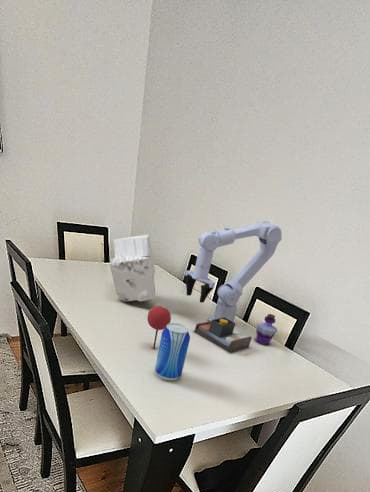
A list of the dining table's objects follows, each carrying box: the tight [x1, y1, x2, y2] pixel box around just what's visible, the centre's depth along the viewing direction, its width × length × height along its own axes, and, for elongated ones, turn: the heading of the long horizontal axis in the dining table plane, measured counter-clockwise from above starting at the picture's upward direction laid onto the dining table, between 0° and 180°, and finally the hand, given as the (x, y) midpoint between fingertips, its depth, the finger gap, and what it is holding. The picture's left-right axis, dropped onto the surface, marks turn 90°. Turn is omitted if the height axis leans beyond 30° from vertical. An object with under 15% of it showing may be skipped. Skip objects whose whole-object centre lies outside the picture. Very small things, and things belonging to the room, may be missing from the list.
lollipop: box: [146, 305, 172, 350], centre depth 129 cm, size 8×8×15 cm
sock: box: [219, 319, 228, 325], centre depth 148 cm, size 3×3×5 cm
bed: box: [194, 320, 252, 354], centre depth 151 cm, size 12×19×4 cm, turn 44°
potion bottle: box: [255, 313, 279, 346], centre depth 156 cm, size 9×9×12 cm
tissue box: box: [109, 233, 157, 303], centre depth 163 cm, size 20×16×25 cm
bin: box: [209, 318, 236, 338], centre depth 149 cm, size 8×6×5 cm
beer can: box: [154, 322, 191, 382], centre depth 115 cm, size 8×8×16 cm
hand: (195, 298), depth 158 cm, fingers open, 7 cm apart
